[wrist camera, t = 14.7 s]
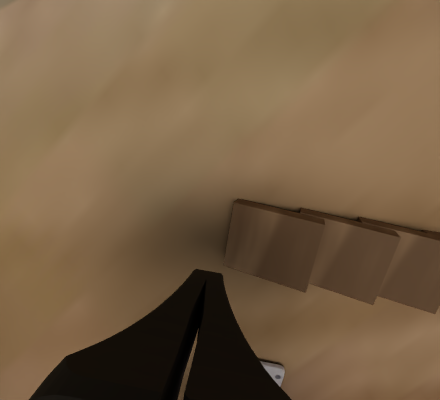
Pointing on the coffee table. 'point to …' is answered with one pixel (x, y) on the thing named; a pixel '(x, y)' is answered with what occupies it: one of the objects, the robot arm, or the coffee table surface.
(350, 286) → the domino
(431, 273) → the domino
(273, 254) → the domino
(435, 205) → the coffee table surface
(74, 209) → the coffee table surface
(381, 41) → the coffee table surface
